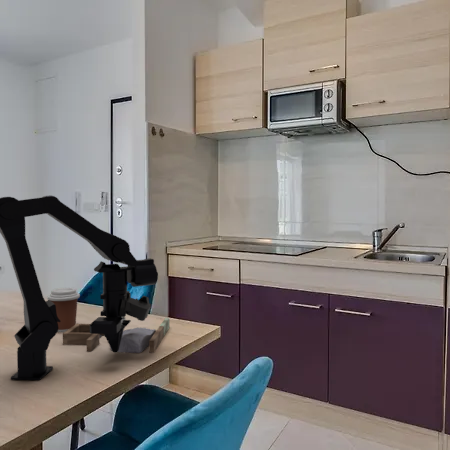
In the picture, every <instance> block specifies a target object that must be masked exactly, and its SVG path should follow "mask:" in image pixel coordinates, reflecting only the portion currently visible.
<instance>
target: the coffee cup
mask: <svg viewBox="0 0 450 450" xmlns="http://www.w3.org/2000/svg"><path fill="white" fill-rule="evenodd" d="M80 297H81V294H80V293H79V292H78V291H77V288H75V287H59V288H54V289H52V290H51V292H50V293H49V295H48V296H47V301H48V300H50V301H51V302H53V303H54V304H55V305H56V313H57V317H58V318H59V320H60V321H61V322H57V323H58V331H57V333H64V332H66V331H67V330H69V329H70V328H71V327H73V326H74V325H76V324H77V313H78V311H77V310H78V299H79V298H80Z"/></svg>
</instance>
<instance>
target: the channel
mask: <svg viewBox="0 0 450 450" xmlns="http://www.w3.org/2000/svg"><path fill="white" fill-rule="evenodd" d="M90 324H91V323H76V325H74V326H73V327H71V328H70V329H69V330H67V331H66V332H62V345H63V346H66V345H67V346H69V345H70V346H71V345H73V346H75V345H76V346H86V352H92V351H93V350H94V349H95V348H96V347H98V346H99V345H100V339H101V338H102V337H103V336H104V334H91V333H90ZM169 329H170V317H165V318H164V319H163V321H162V322H161V324H160V325H159V326H158V328H157V330H156V332H155V333H154V335H153V336H152V338H151V339H150V340H149V346H148V351H149V353H155V352H156V350H157V348H158V347H159V345H160V343H161V342H162V340H163V339H164V337H165V335H166V334H167V333H168V331H169ZM104 337H105V336H104Z"/></svg>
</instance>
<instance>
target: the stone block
mask: <svg viewBox="0 0 450 450" xmlns="http://www.w3.org/2000/svg"><path fill="white" fill-rule="evenodd" d="M156 331H157V330H156V329H154V328H153V329H151V328H146V327H134V328H129V329H126V330H125V329H124V330H123V334H122V338H121V342H120V346H119V350H118V352H117V353H137V354H138V353H142V352H143V351H144V350H146V349H147V348H149V340H150V339H151V338H152V336H153V335H154V333H155V332H156ZM109 348H110V350H111V351H112V349H111V347H110V346H109Z"/></svg>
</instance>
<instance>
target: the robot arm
mask: <svg viewBox="0 0 450 450" xmlns="http://www.w3.org/2000/svg"><path fill="white" fill-rule="evenodd" d="M45 214H46V215H48V216H49V217H51V218H52V219H54V220H55V221H57V222H58V223H60V224H62V225H63V226H64V227H65V228H67V229H69V230H70V231H72V232H73V233H74V234H75V235H76V234H77V235H78V237H80V238H82V239H83V240H85V241H86V242H87V243H88V244H89V245H90V246H91V247H92V248H93V249H94V250H95V252H97V253H98V255H100V256H101V257H102V258H103V259H104V260H107V261H111V262H114V263H108V264H106V262H104V261H100V262H99V263H98V265H97V266H95V267H94V268H93V271H94V272H97V273H99V274H101V273H102V293H101V294H100V296H99V298H100V300H102V302H103V303H102V310H101V311H100V316H98V317H96V318H95V319H94V320H93V321H92V322H91V323H89V324H90V333H91V334H104V337H105V339H106V341H107V343H108V345H109V348H110V347H111V349H112V350H111V349H110V350H111V351H112V352H113V353H119V352H118V350H119V346H120V342H121V338H122V334H123V331H124V330H125V328H126V327H127V326H128V325H129V324H130V323H131V321H132V320H130V319H126V315H127V316H130V317H131V318H135V319H137V320H138V321H140V322H144V321H145V320H146V319H147V318H148V316H149V313H150V310H151V307H152V303H150V299H149V297H148V296H145V295H142V296H141V297H140V298H139V299H138V298H133V297H131V295H132V294H131V292H130V291H129V290H128V284H130V285H131V287H133V288H136V287H143V286H144V287H146V286H152V285H156V284H157V283H158V280H159V272H158V269H157V266H156V265H155V260H154V258H145V259H136V257H135V256H134V255H133V253H132V252H131V249H130V247H131V246H130V244H129V242H127V241H126V240H125V239H123V238H121V237H119V236H116V235H115V234H112V233H110V232H107V231H105V230H103V229H100V228H99V227H97V225H95V224H93V223H91V221H89V220H87V219H86V218H85V217H83V216H81V215H80V214H79V213H77V212H76V211H74V210H73V209H72V208H70V207H69V206H68V205H66V204H65V203H63V202H62V201H60V200H59V198H58V197H57V196H55V195H44V196H42V197H34V198H29V199H26V198H25V199H20V200H19V199H18V198H15V197H11V196H4V197H3V196H1V197H0V235H1V236H2V239H3V240H4V241H5V245H6V248H7V251H8V254H9V258H10V261H11V264H12V267H13V270H14V274H15V277H16V281H17V283H18V284H17V285H18V287H19V289H20V294H21V296H22V300H23V301H22V302H23V319H24V320H23V322H24V325H22V327H21V328H19V330H18V331H17V332H16V333H15V334H14V335H13V336H14V339H15V341H16V343H17V344H18V345H19V346H18V347H17V351H16V354H17V356H16V358H17V363H16V364H17V371H16V372H15V373H14V374H13V375H11V376H10V380H13V381H15V380H17V381H18V380H19V381H20V380H21V381H40V380H41V379H43V378H44V377H45V376H46V375H47V374H48V373H50V372H51V371H52V370H53V369H54V367H53V366H48V365H47V350H48V348H49V345H50V343H51V340H52V339H53V338H54V337H55V336H56V334H57V333H58V332H57V331H58V323H57V322H61V321H60V320H59V318H58V317H57V313H56V305H55V304H54V303H53V302H51V301H50V300H48V299H47V300H45V298H44V295H43V292H42V288H41V285H40V282H39V278H38V275H37V271H36V269H35V265H34V262H33V259H32V255H31V251H30V249H29V245H28V242H27V238H26V217H34V216H40V215H45ZM119 264H122V265H126V266H120V265H119Z"/></svg>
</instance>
